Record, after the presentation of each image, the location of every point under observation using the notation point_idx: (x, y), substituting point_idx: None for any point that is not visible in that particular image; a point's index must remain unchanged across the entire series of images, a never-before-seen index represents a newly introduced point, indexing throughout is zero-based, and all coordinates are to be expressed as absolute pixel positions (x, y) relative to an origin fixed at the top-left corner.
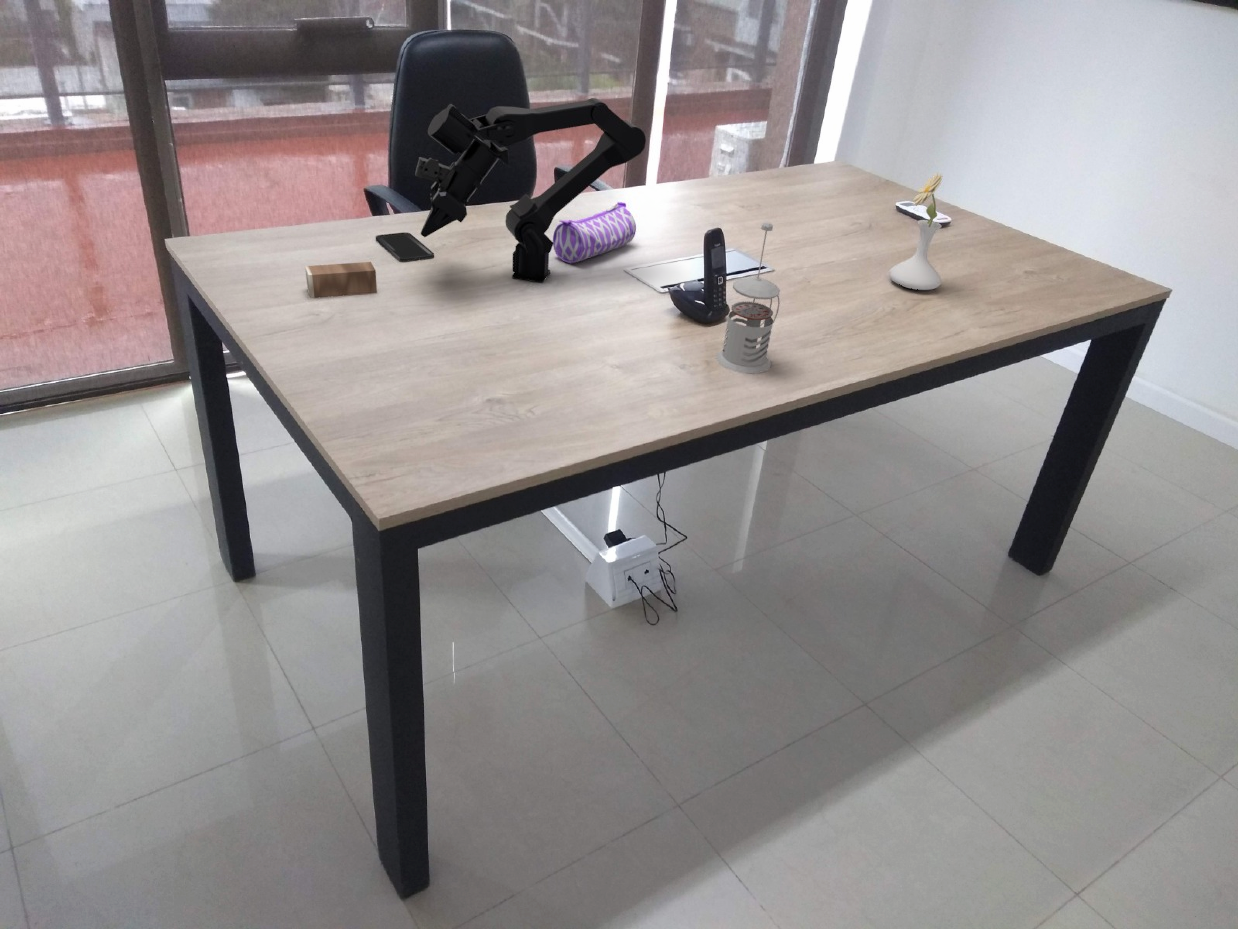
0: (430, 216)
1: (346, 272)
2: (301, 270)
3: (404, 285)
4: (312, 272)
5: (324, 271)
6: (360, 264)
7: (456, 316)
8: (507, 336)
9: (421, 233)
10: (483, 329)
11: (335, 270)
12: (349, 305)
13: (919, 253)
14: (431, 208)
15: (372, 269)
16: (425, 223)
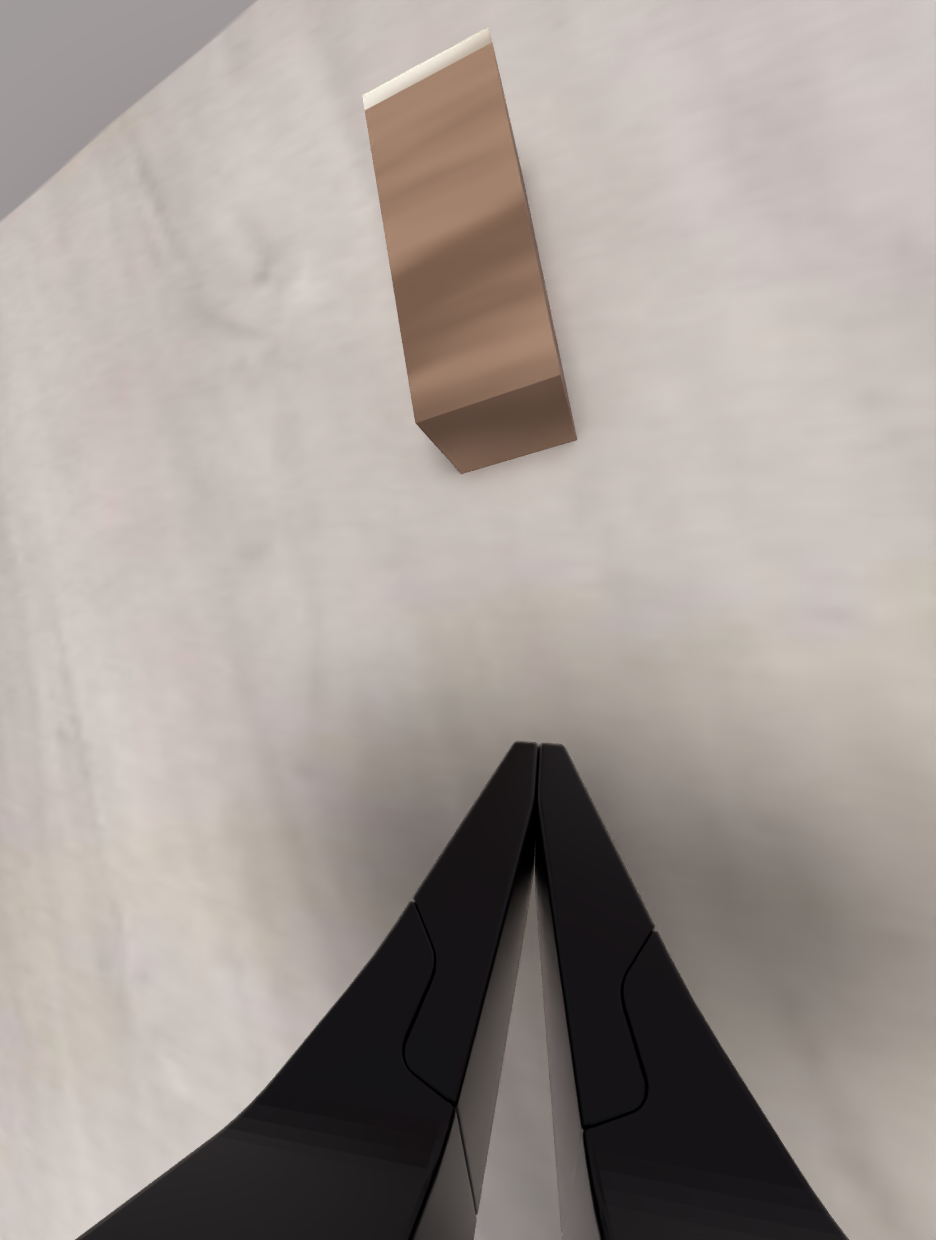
0: (366, 966)
1: (391, 270)
2: (783, 41)
3: (553, 605)
4: (396, 100)
5: (409, 154)
6: (512, 320)
7: (208, 814)
8: (46, 975)
9: (512, 750)
10: (101, 898)
11: (420, 205)
12: (335, 375)
13: None
14: (682, 1132)
15: (431, 403)
16: (468, 835)
